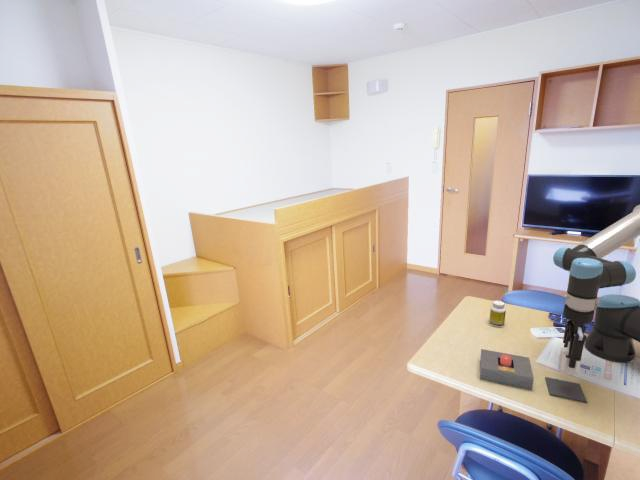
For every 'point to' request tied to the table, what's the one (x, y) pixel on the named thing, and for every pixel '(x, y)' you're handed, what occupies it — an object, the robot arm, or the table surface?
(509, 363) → the plunger
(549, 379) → the mat
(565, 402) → the table surface
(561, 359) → the eye dropper bottle
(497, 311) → the pill bottle
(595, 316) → the robot arm
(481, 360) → the grey flat block
